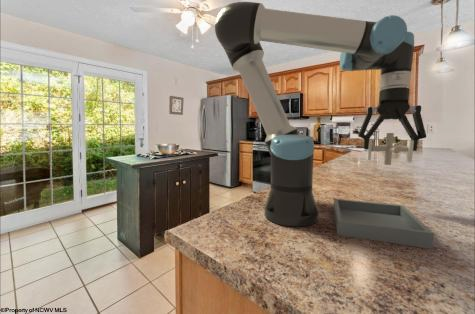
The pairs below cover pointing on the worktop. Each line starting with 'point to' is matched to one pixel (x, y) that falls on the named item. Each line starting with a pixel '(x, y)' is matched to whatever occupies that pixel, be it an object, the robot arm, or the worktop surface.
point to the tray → (380, 223)
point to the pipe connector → (389, 148)
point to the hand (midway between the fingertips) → (387, 160)
